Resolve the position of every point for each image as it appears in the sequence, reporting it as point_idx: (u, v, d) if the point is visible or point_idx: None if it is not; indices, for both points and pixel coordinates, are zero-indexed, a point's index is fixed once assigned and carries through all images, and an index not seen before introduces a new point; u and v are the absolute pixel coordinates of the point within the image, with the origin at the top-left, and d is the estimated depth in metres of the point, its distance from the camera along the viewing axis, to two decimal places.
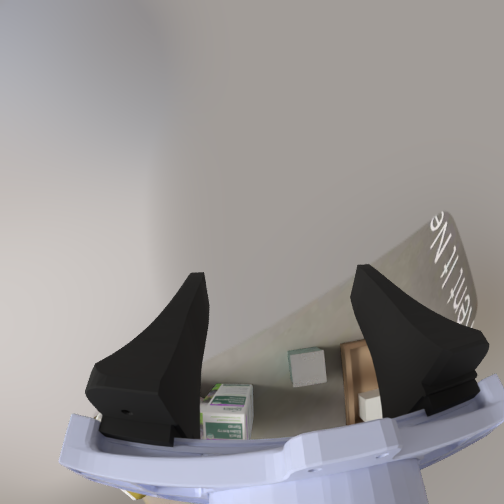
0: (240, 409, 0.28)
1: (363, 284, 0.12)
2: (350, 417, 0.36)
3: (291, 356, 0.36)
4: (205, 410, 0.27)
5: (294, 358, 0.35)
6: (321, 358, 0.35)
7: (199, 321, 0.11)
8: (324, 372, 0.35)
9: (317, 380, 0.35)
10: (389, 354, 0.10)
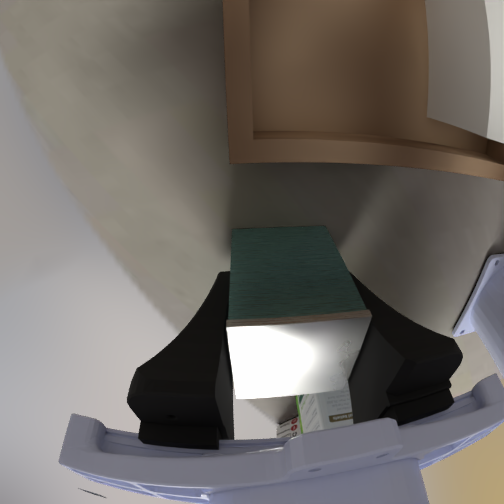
0: None
1: None
2: (490, 175, 0.09)
3: (240, 396, 0.11)
4: None
5: (247, 392, 0.10)
6: (260, 335, 0.08)
7: None
8: (328, 325, 0.08)
9: (350, 343, 0.09)
10: (358, 359, 0.10)
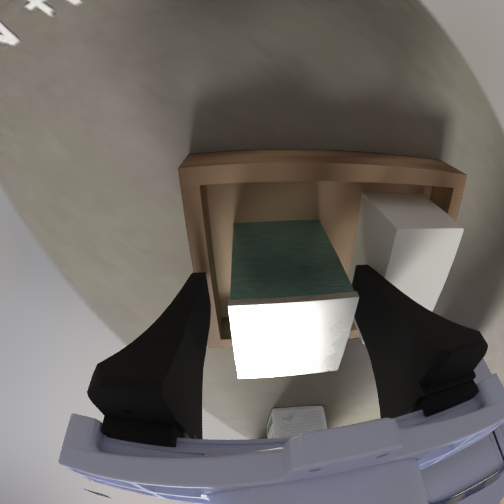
0: None
1: (361, 284, 0.12)
2: None
3: (241, 376, 0.12)
4: None
5: (247, 371, 0.11)
6: (258, 313, 0.10)
7: (201, 321, 0.11)
8: (319, 304, 0.09)
9: (341, 322, 0.10)
10: (387, 354, 0.10)
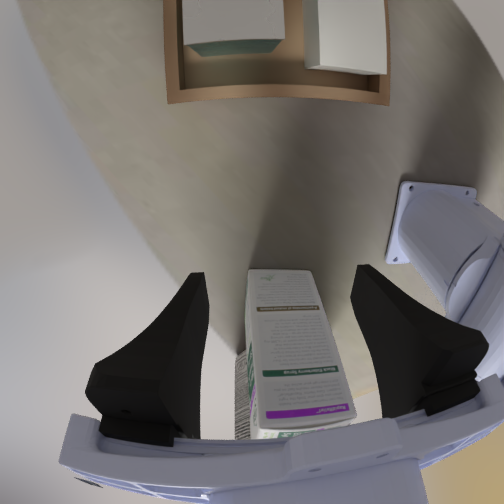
0: (256, 408, 0.14)
1: (363, 284, 0.12)
2: (359, 100, 0.15)
3: (187, 41, 0.10)
4: None
5: (193, 32, 0.10)
6: None
7: (199, 321, 0.11)
8: None
9: None
10: (389, 354, 0.10)
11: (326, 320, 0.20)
